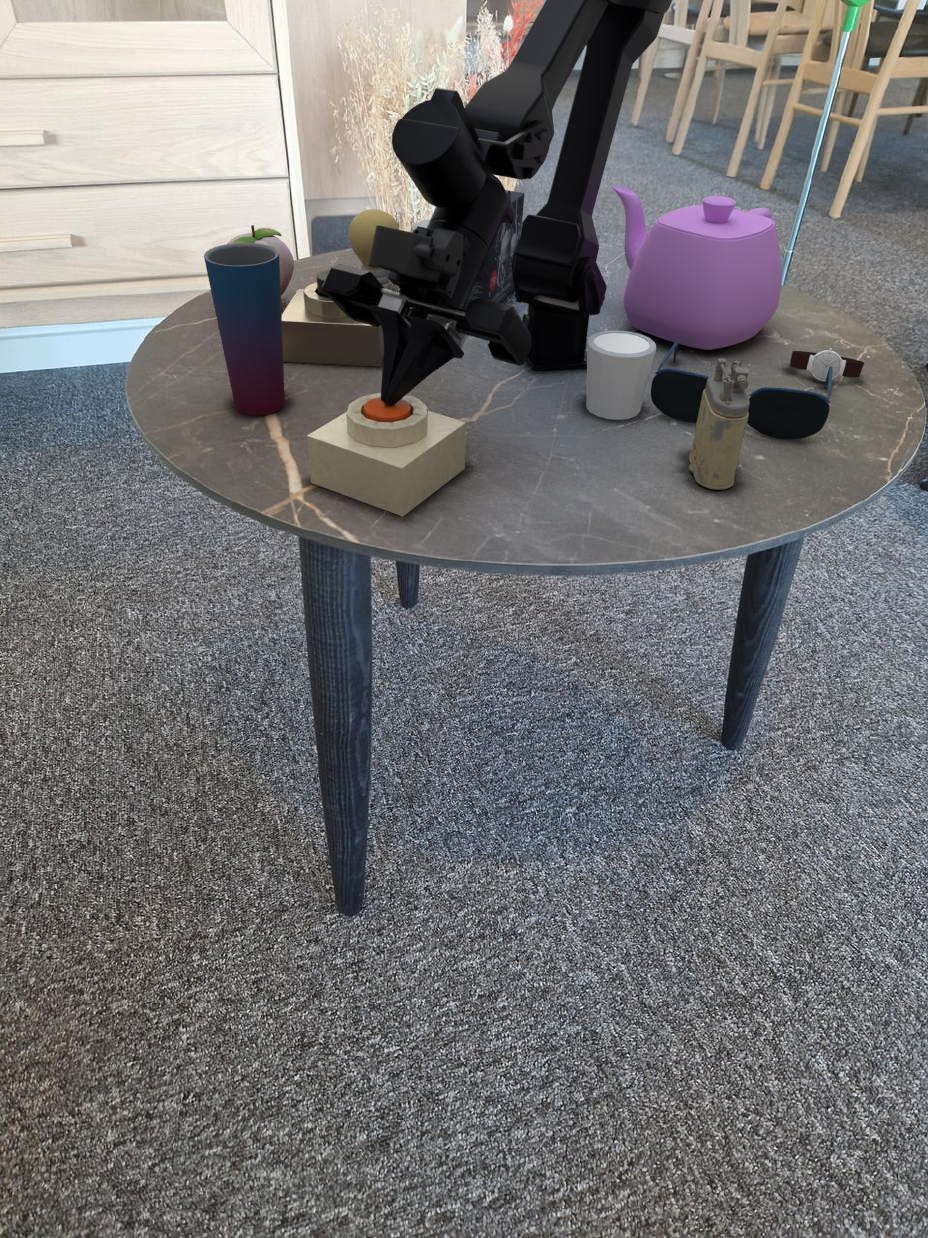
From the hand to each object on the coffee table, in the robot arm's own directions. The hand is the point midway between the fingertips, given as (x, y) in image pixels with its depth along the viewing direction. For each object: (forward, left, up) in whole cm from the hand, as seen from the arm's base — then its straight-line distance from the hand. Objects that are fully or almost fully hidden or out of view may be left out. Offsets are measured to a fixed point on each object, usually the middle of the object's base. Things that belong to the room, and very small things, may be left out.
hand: (386, 403), depth 80 cm
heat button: (+2, -30, -1) cm, 30 cm away
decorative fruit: (+11, -43, -7) cm, 45 cm away
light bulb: (-4, -48, -7) cm, 49 cm away
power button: (0, 0, -2) cm, 2 cm away
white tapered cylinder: (-25, -11, -7) cm, 28 cm away
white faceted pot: (-13, -55, -7) cm, 57 cm away
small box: (-17, -44, -7) cm, 48 cm away
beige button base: (+2, -30, -7) cm, 31 cm away
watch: (-51, -16, -7) cm, 54 cm away
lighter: (-30, +3, -7) cm, 31 cm away
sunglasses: (-39, -11, -7) cm, 41 cm away
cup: (+11, -16, -7) cm, 21 cm away
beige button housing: (0, 0, -7) cm, 7 cm away
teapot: (-41, -31, -7) cm, 52 cm away
